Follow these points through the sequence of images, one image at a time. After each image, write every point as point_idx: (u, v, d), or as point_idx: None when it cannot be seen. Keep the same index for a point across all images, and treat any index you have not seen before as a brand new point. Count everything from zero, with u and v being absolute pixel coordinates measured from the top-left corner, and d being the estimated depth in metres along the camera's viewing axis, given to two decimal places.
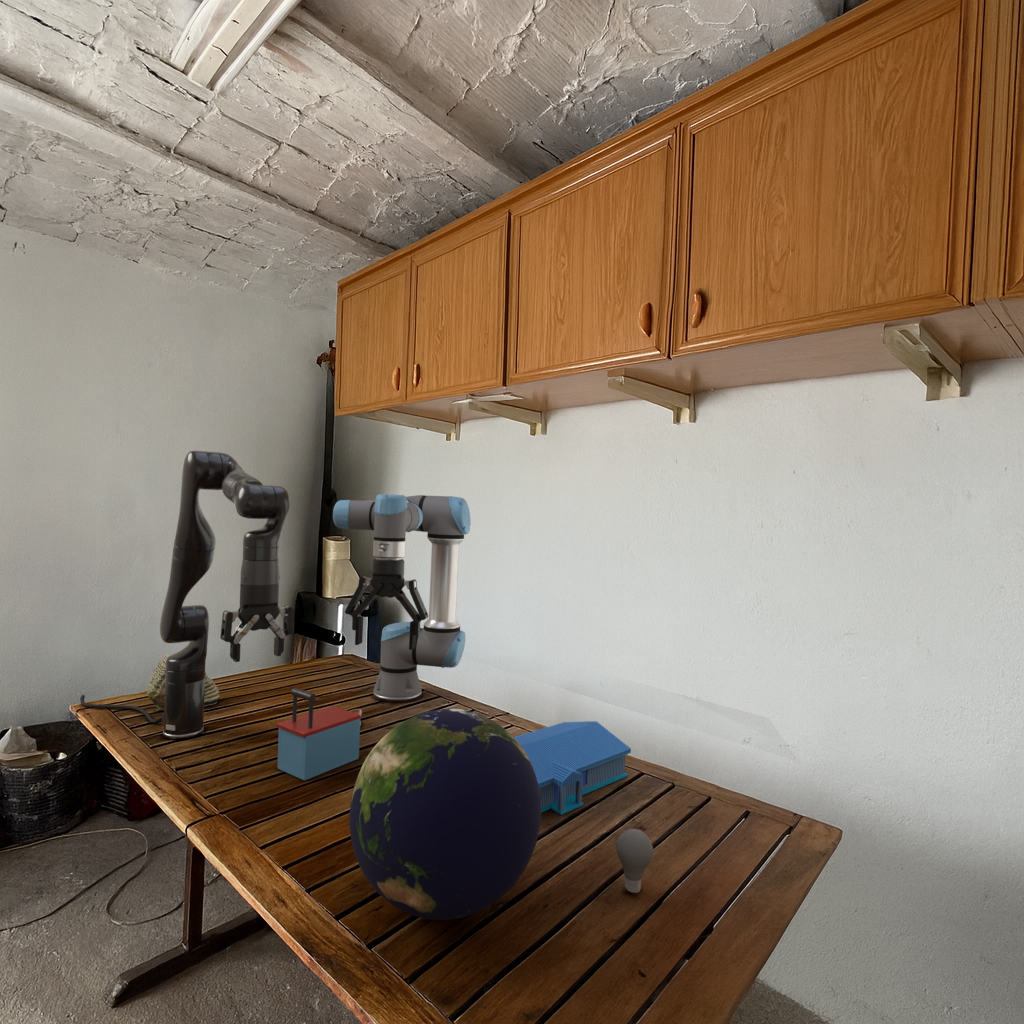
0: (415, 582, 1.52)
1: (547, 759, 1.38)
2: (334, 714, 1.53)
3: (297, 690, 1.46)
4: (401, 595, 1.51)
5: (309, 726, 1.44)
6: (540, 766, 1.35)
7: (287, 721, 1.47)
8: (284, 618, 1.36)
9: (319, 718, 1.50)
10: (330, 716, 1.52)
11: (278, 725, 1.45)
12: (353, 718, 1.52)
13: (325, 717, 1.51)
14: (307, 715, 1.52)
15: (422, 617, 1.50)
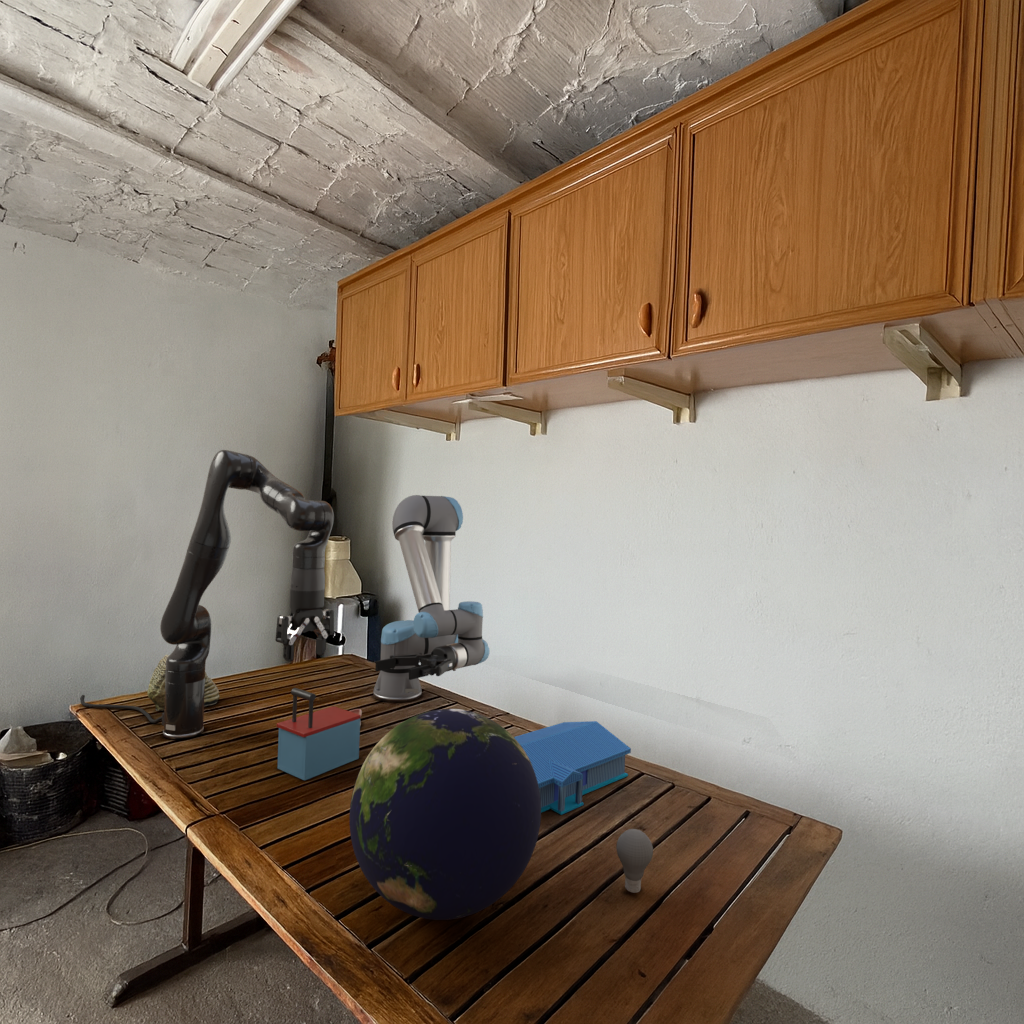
0: None
1: (547, 759, 1.38)
2: (334, 714, 1.53)
3: (297, 690, 1.46)
4: None
5: (309, 726, 1.44)
6: (540, 766, 1.35)
7: (287, 721, 1.47)
8: None
9: (319, 718, 1.50)
10: (330, 716, 1.52)
11: (278, 725, 1.45)
12: (353, 718, 1.52)
13: (325, 717, 1.51)
14: (307, 715, 1.52)
15: None
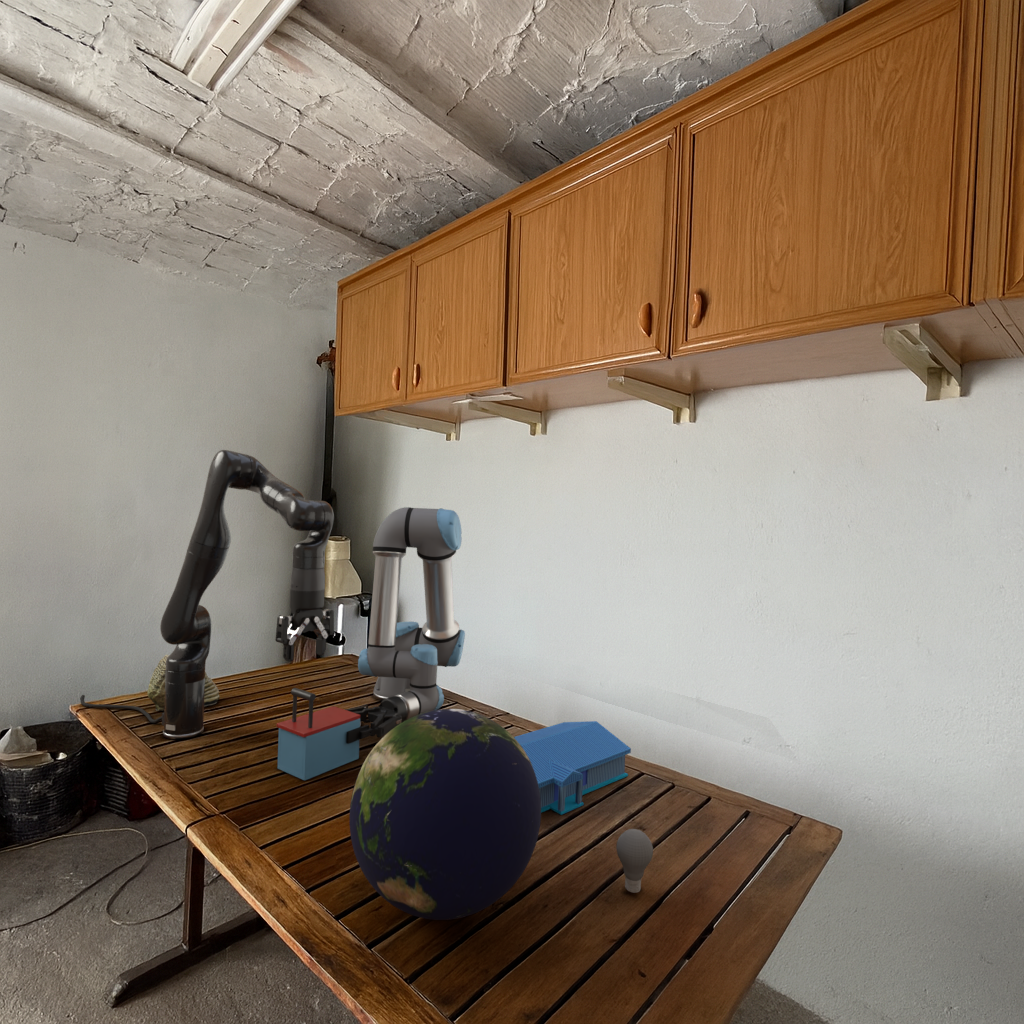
0: None
1: (547, 759, 1.38)
2: (334, 714, 1.53)
3: (297, 690, 1.46)
4: None
5: (309, 726, 1.44)
6: (540, 766, 1.35)
7: (287, 721, 1.47)
8: None
9: (319, 718, 1.50)
10: (330, 716, 1.52)
11: (278, 725, 1.45)
12: (353, 718, 1.52)
13: (325, 717, 1.51)
14: (307, 715, 1.52)
15: None
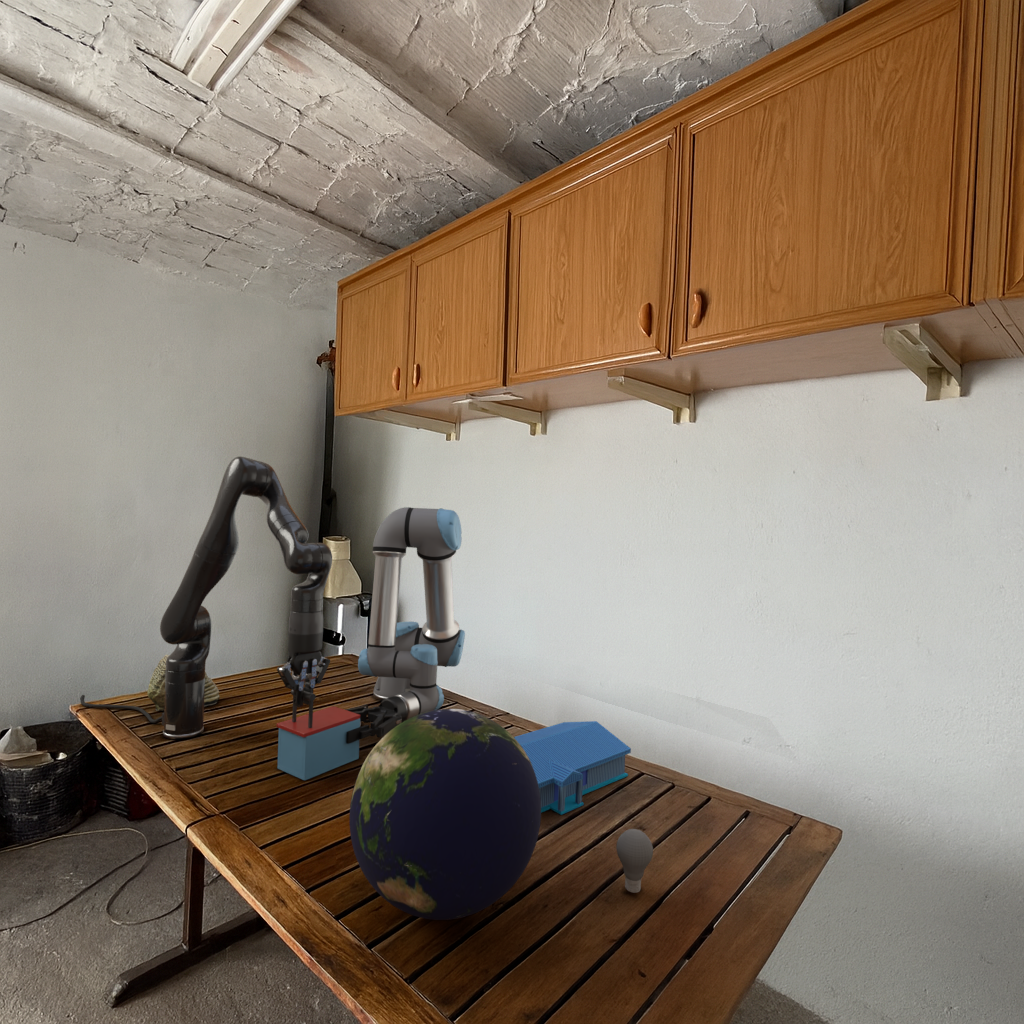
0: None
1: (547, 759, 1.38)
2: (334, 714, 1.53)
3: None
4: None
5: (309, 726, 1.44)
6: (540, 766, 1.35)
7: (287, 721, 1.47)
8: None
9: (319, 718, 1.50)
10: (330, 716, 1.52)
11: (278, 725, 1.45)
12: (353, 718, 1.52)
13: (325, 717, 1.51)
14: (307, 715, 1.52)
15: None
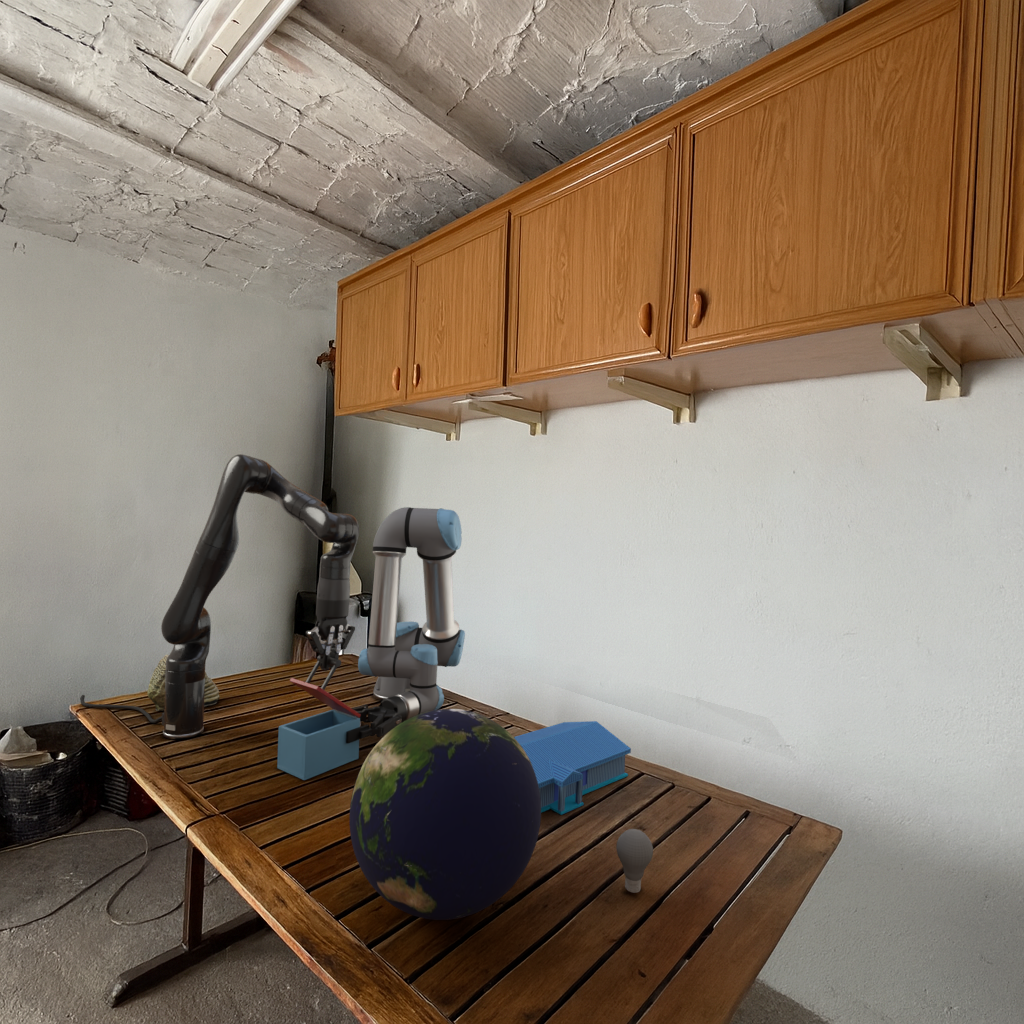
0: None
1: (547, 759, 1.38)
2: None
3: None
4: None
5: (321, 688, 1.46)
6: (540, 766, 1.35)
7: None
8: None
9: None
10: None
11: (292, 679, 1.48)
12: (355, 712, 1.52)
13: None
14: None
15: None
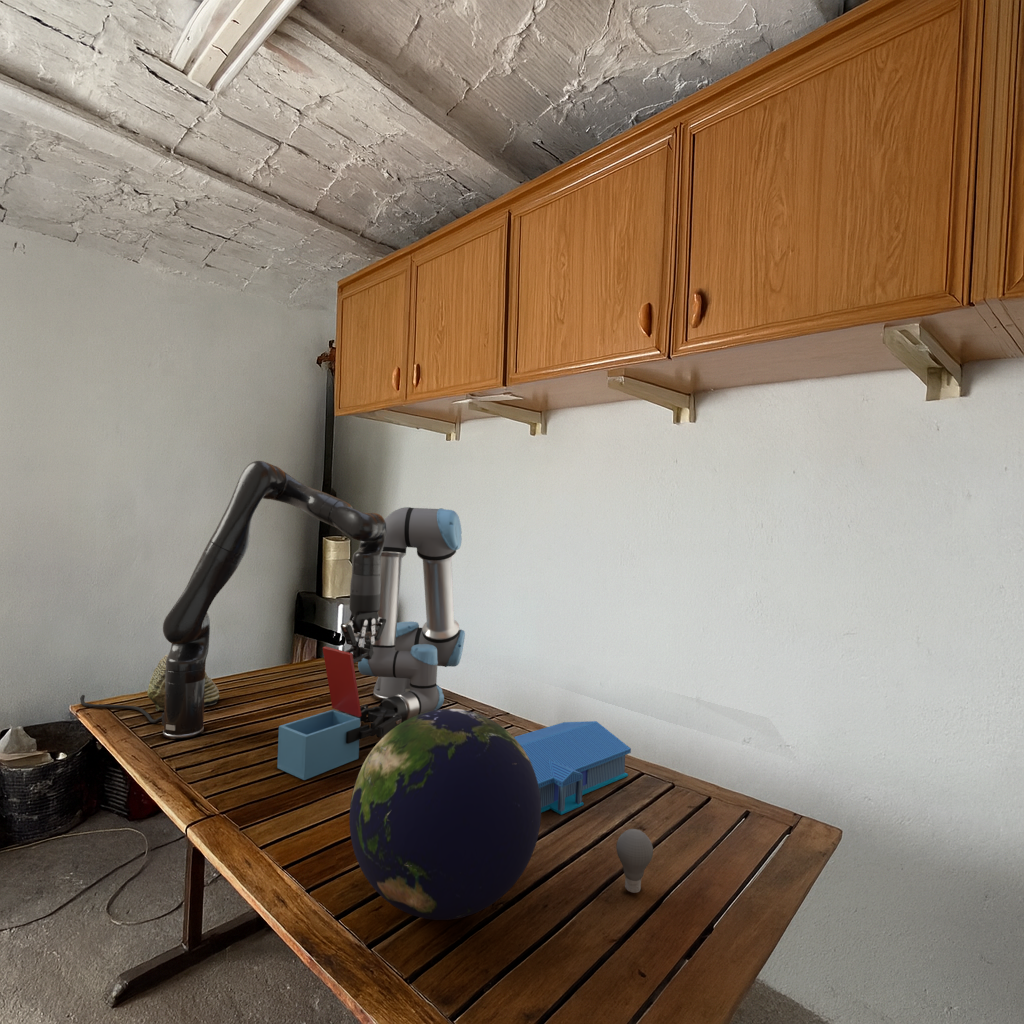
0: None
1: (547, 759, 1.38)
2: None
3: None
4: None
5: None
6: (540, 766, 1.35)
7: None
8: None
9: None
10: None
11: (325, 647, 1.56)
12: (359, 708, 1.53)
13: None
14: None
15: None
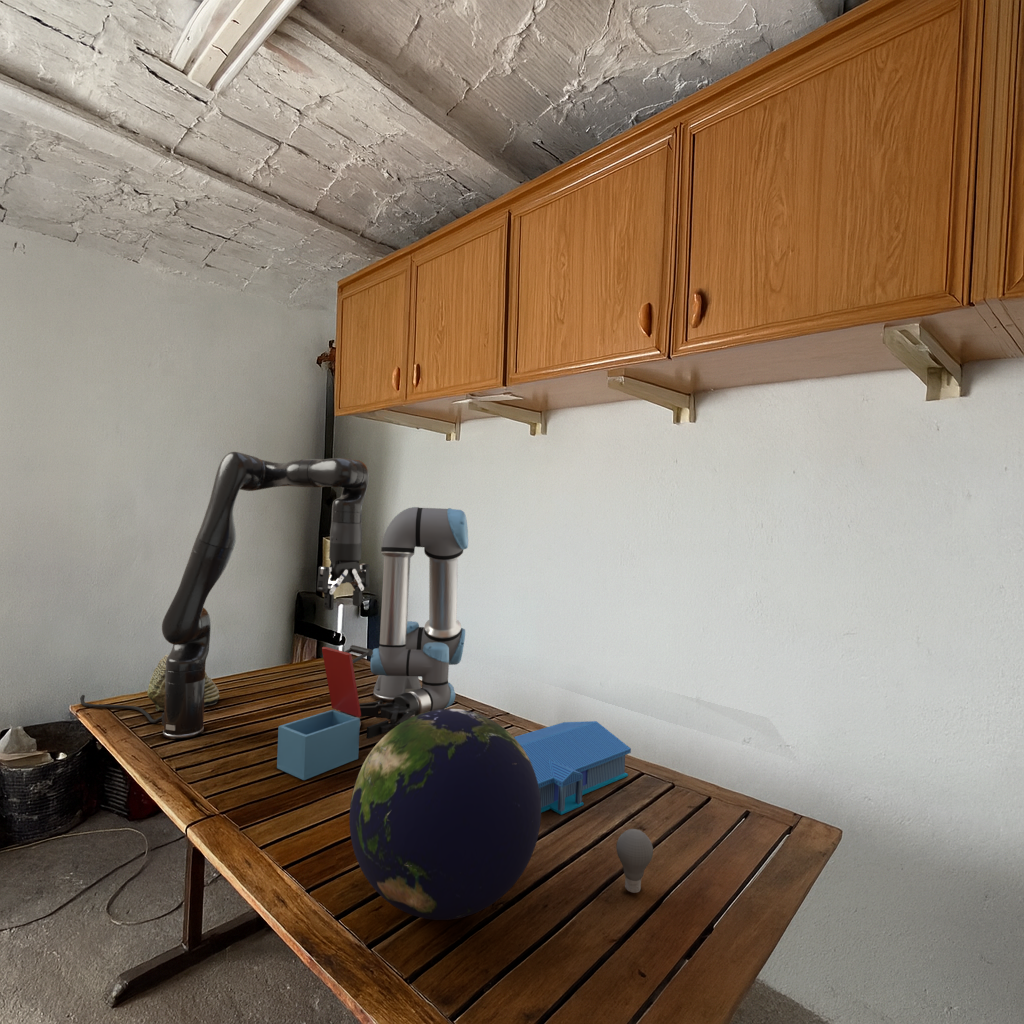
0: None
1: (547, 759, 1.38)
2: None
3: None
4: None
5: None
6: (540, 766, 1.35)
7: None
8: None
9: None
10: None
11: (325, 647, 1.55)
12: (359, 708, 1.53)
13: None
14: None
15: None
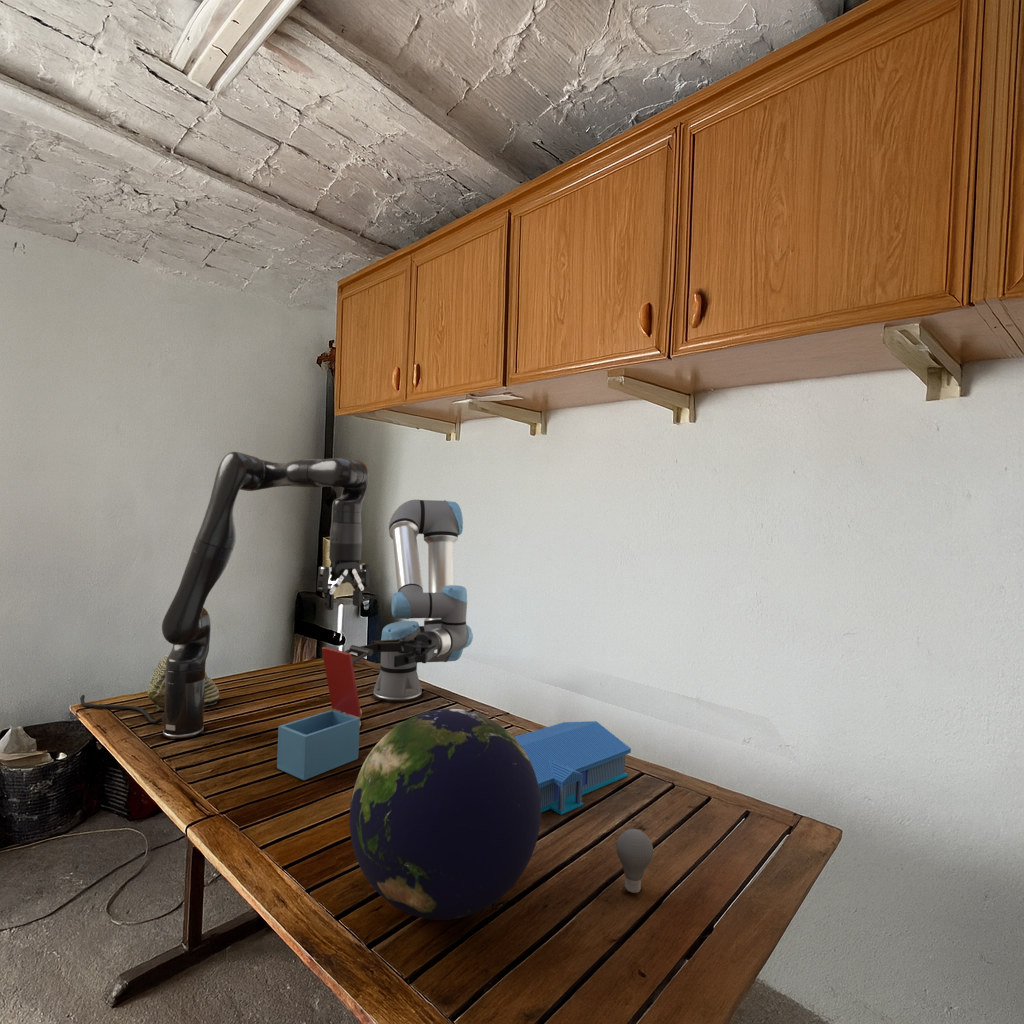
0: None
1: (547, 759, 1.38)
2: None
3: None
4: None
5: None
6: (540, 766, 1.35)
7: None
8: None
9: None
10: None
11: (325, 647, 1.55)
12: (359, 708, 1.53)
13: None
14: None
15: None
